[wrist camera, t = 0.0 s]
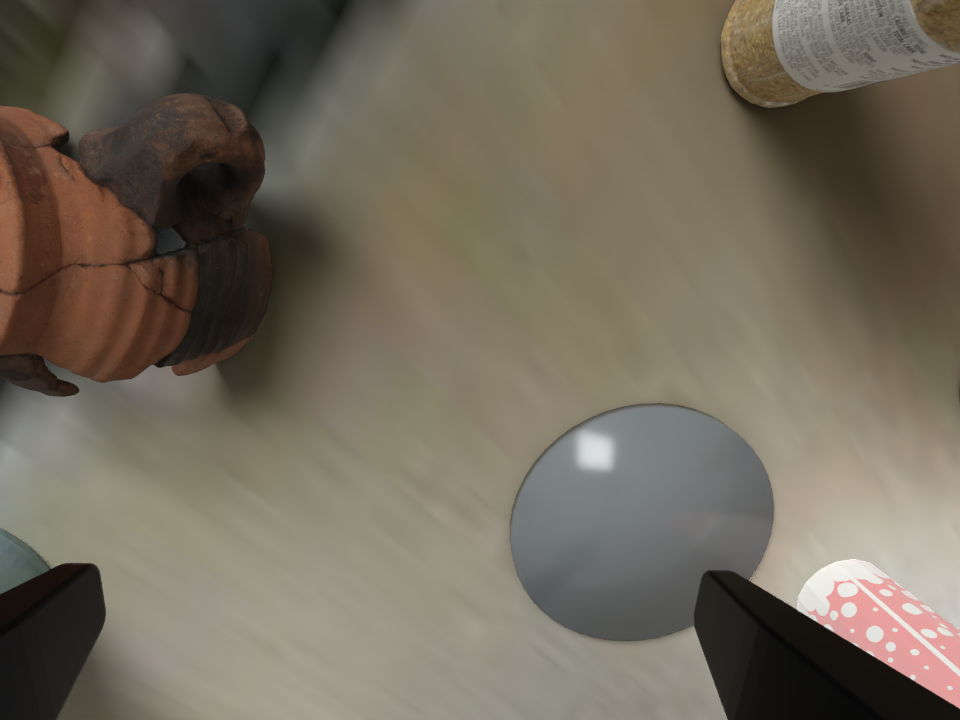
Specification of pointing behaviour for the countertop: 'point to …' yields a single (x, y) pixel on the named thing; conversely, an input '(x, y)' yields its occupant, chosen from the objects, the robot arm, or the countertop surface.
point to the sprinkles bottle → (833, 45)
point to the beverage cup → (886, 623)
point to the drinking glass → (17, 562)
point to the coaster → (638, 519)
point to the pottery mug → (129, 243)
